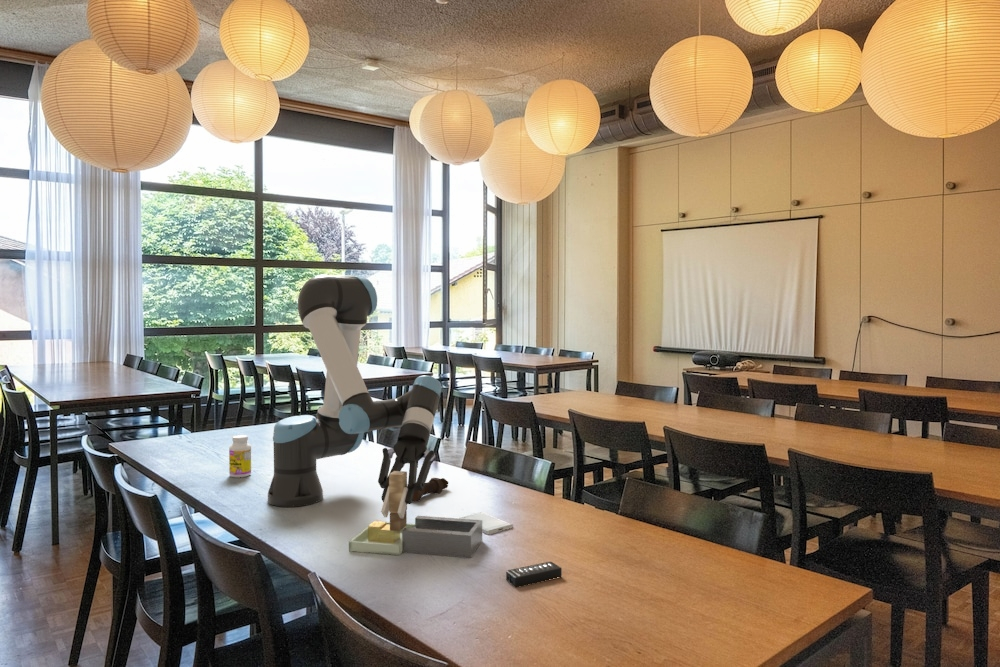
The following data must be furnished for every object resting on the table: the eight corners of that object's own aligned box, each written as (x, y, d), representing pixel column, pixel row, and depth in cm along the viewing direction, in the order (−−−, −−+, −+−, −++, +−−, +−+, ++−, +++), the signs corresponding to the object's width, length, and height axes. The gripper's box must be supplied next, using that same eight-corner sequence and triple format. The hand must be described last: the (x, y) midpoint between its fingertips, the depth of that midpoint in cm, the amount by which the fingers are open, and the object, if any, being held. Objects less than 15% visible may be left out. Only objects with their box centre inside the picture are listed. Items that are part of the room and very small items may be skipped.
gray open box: (402, 552, 154) (402, 530, 153) (418, 536, 164) (417, 515, 164) (470, 557, 150) (470, 535, 150) (482, 541, 161) (482, 520, 161)
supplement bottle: (224, 476, 220) (224, 437, 219) (239, 472, 226) (239, 433, 225) (241, 479, 217) (240, 439, 216) (255, 474, 223) (255, 435, 223)
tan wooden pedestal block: (388, 530, 158) (388, 474, 157) (395, 524, 162) (395, 470, 162) (401, 531, 157) (401, 475, 157) (408, 525, 161) (407, 471, 161)
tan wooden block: (379, 542, 159) (379, 529, 159) (386, 536, 163) (386, 524, 162) (393, 543, 158) (393, 530, 158) (399, 537, 162) (399, 525, 162)
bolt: (446, 495, 206) (414, 506, 193) (435, 485, 208) (402, 495, 196) (454, 480, 204) (422, 490, 192) (443, 470, 207) (410, 479, 194)
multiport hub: (562, 579, 140) (562, 568, 140) (515, 589, 135) (515, 578, 135) (551, 571, 144) (551, 560, 144) (505, 581, 139) (505, 570, 139)
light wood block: (380, 541, 159) (368, 540, 159) (386, 536, 163) (374, 535, 163) (380, 527, 159) (368, 526, 159) (386, 521, 163) (374, 520, 163)
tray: (348, 551, 154) (348, 541, 154) (374, 529, 169) (374, 521, 169) (399, 555, 152) (399, 545, 152) (420, 533, 166) (420, 524, 166)
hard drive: (457, 517, 175) (487, 530, 166) (482, 511, 181) (513, 523, 171) (457, 524, 175) (487, 536, 166) (482, 517, 181) (513, 529, 171)
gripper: (449, 439, 172) (429, 525, 157) (389, 436, 175) (363, 520, 160) (444, 422, 167) (422, 509, 151) (381, 419, 170) (354, 504, 155)
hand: (392, 514), depth 156 cm, fingers closed on tan wooden pedestal block, 3 cm apart
